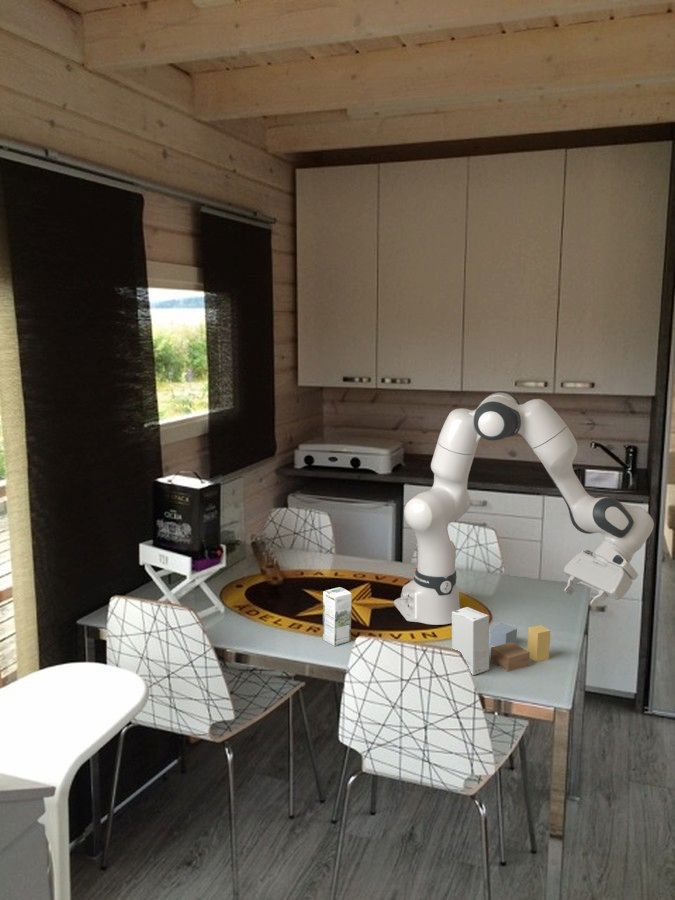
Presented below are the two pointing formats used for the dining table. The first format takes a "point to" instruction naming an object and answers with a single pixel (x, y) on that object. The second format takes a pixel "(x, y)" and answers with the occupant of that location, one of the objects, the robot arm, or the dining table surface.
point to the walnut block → (510, 656)
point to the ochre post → (538, 643)
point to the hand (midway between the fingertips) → (578, 598)
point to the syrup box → (337, 616)
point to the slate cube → (503, 635)
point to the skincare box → (471, 638)
